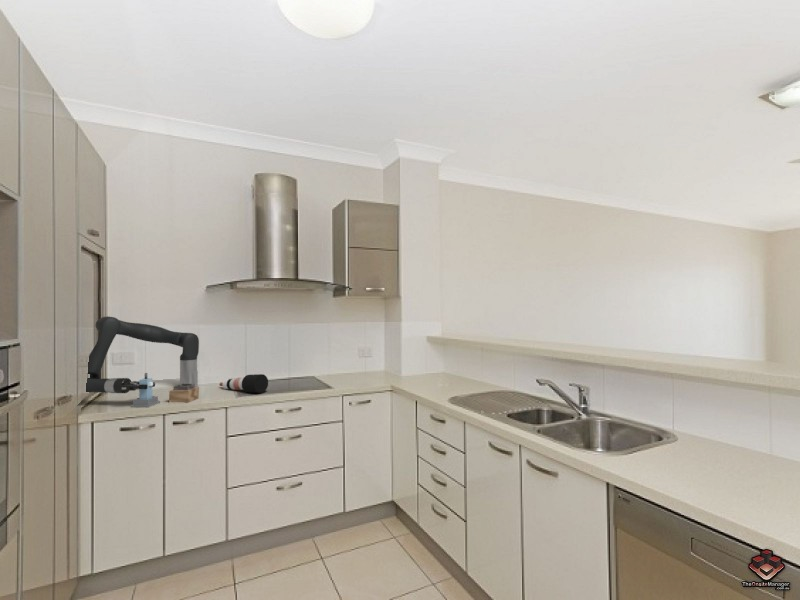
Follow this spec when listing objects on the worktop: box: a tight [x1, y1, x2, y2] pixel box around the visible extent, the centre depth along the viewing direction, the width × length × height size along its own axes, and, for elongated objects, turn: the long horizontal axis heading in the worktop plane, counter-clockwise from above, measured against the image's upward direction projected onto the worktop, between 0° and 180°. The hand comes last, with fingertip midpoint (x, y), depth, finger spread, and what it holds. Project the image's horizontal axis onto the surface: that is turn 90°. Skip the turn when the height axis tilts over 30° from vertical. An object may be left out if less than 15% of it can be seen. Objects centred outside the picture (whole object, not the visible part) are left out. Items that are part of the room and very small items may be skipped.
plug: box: [138, 372, 153, 399], centre depth 202 cm, size 4×5×15 cm
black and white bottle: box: [219, 373, 269, 394], centre depth 234 cm, size 10×34×10 cm, turn 62°
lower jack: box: [130, 395, 161, 408], centre depth 202 cm, size 9×9×4 cm
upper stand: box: [168, 383, 200, 404], centre depth 212 cm, size 10×10×8 cm
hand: (150, 385), depth 202 cm, fingers open, 5 cm apart
